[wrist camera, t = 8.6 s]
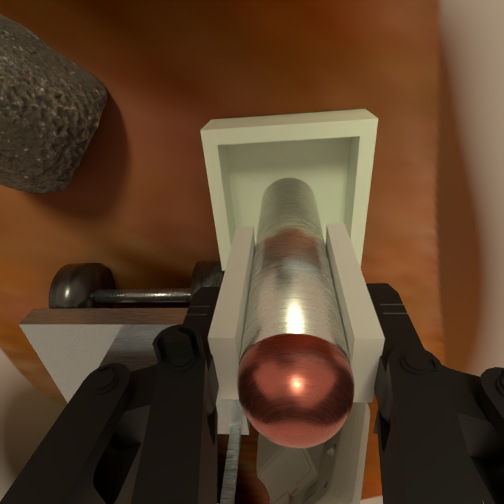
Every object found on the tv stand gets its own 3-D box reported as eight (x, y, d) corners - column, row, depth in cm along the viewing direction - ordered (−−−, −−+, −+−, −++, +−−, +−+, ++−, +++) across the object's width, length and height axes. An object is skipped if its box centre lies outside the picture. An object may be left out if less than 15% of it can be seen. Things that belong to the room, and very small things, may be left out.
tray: (210, 119, 20) (200, 130, 17) (365, 108, 19) (378, 118, 16) (228, 247, 24) (222, 270, 22) (352, 244, 23) (360, 268, 21)
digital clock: (292, 464, 41) (295, 582, 32) (232, 437, 39) (216, 555, 30) (391, 406, 33) (432, 540, 24) (323, 368, 31) (339, 500, 22)
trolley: (66, 251, 26) (-206, 508, 11) (241, 247, 24) (181, 537, 10) (121, 374, 34) (1, 617, 19) (256, 376, 32) (234, 643, 18)
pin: (259, 178, 19) (221, 396, 7) (316, 176, 18) (374, 400, 7) (263, 228, 20) (236, 470, 9) (314, 226, 20) (359, 476, 8)
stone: (130, 161, 25) (146, 95, 16) (33, 231, 22) (-14, 198, 13) (30, 50, 23) (-15, -98, 14) (-93, 111, 20) (-252, -28, 11)
